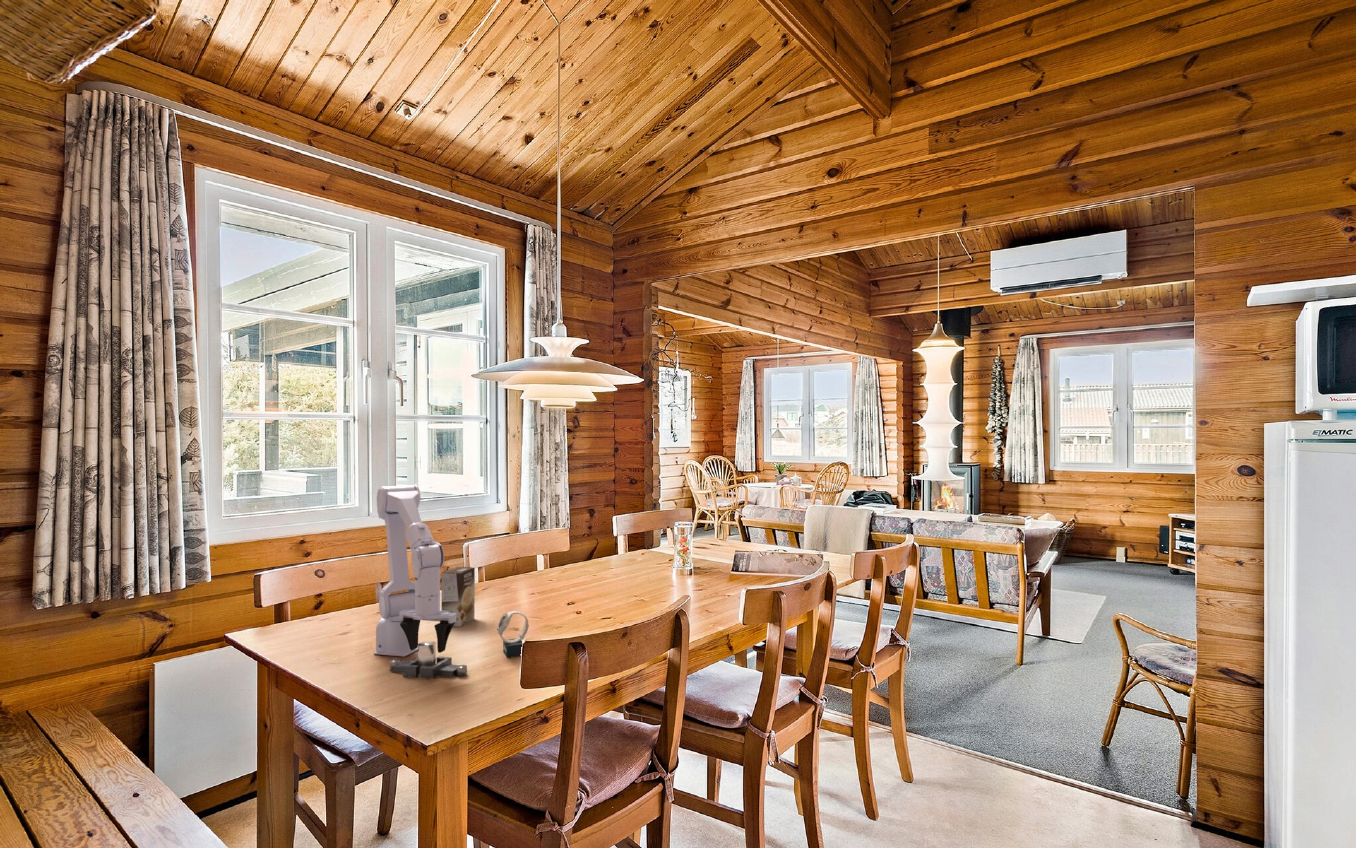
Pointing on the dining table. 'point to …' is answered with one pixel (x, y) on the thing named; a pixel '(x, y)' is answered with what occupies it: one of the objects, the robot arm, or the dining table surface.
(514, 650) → the watch
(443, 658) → the chain end right
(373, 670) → the dining table surface
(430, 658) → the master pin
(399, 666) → the chain end left
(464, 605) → the coffee box
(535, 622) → the dining table surface
